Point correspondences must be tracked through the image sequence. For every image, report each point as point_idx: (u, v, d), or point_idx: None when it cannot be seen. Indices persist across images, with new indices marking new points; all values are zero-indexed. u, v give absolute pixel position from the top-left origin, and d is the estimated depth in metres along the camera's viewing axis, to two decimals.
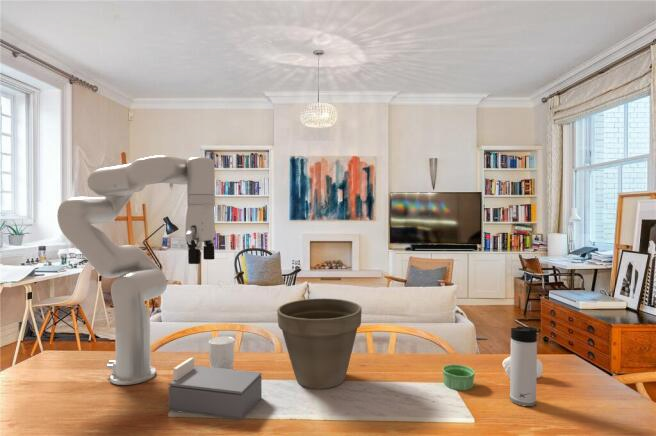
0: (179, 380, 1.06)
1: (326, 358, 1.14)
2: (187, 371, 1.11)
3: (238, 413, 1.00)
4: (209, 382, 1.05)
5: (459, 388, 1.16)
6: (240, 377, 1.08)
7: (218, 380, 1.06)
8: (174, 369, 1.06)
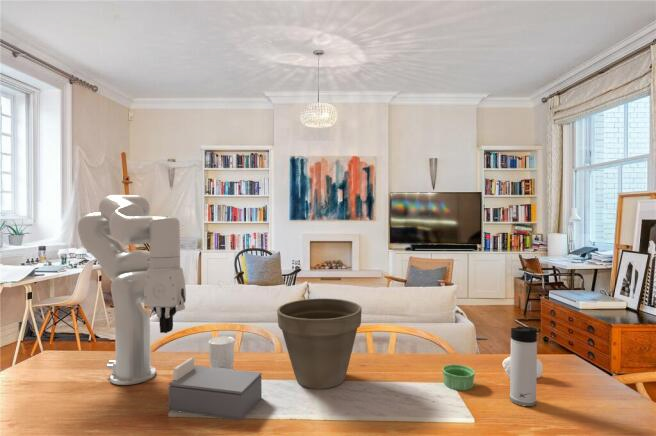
0: (179, 380, 1.06)
1: (326, 358, 1.14)
2: (187, 371, 1.11)
3: (238, 413, 1.00)
4: (209, 382, 1.05)
5: (459, 388, 1.16)
6: (240, 377, 1.08)
7: (218, 380, 1.06)
8: (174, 369, 1.06)
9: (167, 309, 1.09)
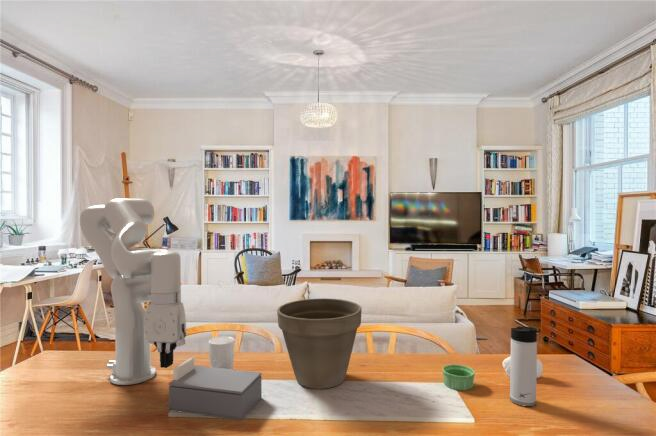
0: (179, 380, 1.06)
1: (326, 358, 1.14)
2: (187, 371, 1.11)
3: (238, 413, 1.00)
4: (209, 382, 1.05)
5: (459, 388, 1.16)
6: (240, 377, 1.08)
7: (218, 380, 1.06)
8: (174, 369, 1.06)
9: (168, 344, 1.10)
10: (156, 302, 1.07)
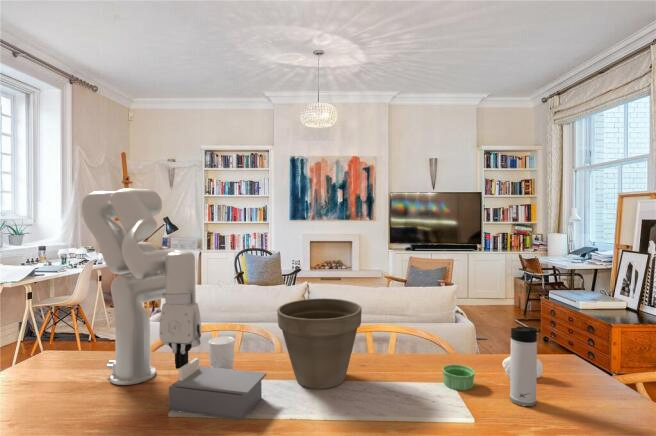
0: (184, 381, 1.06)
1: (326, 358, 1.14)
2: (192, 372, 1.11)
3: (238, 413, 1.00)
4: (214, 383, 1.05)
5: (459, 388, 1.16)
6: (245, 378, 1.08)
7: (223, 381, 1.06)
8: (179, 369, 1.06)
9: (183, 345, 1.08)
10: (171, 302, 1.06)
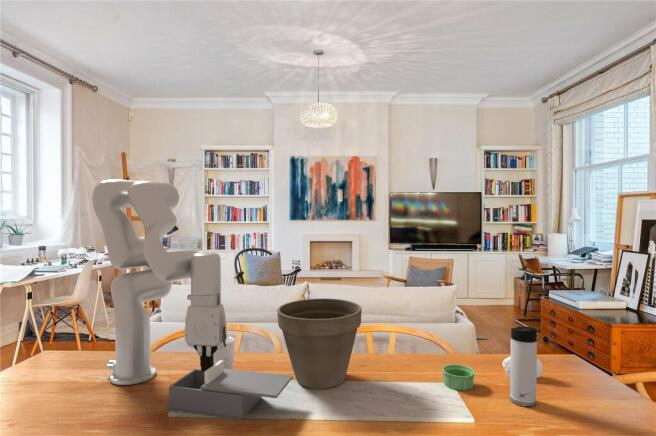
0: (210, 384, 1.04)
1: (326, 358, 1.14)
2: (217, 374, 1.09)
3: (238, 413, 1.00)
4: (242, 386, 1.03)
5: (459, 388, 1.16)
6: (272, 380, 1.06)
7: (250, 384, 1.04)
8: (205, 372, 1.04)
9: (208, 347, 1.07)
10: (197, 304, 1.05)
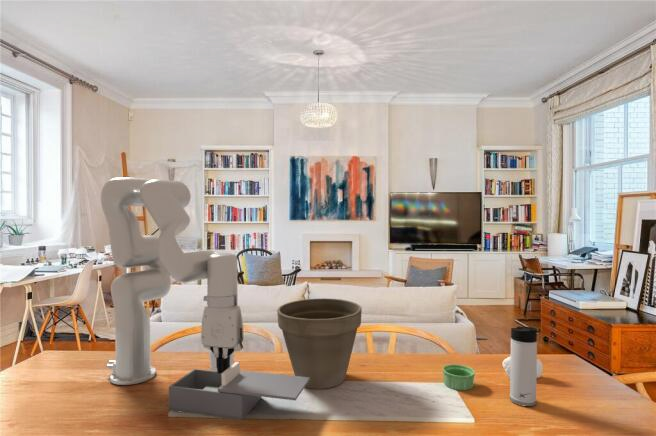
0: (227, 386, 1.03)
1: (326, 358, 1.14)
2: (233, 376, 1.08)
3: (238, 413, 1.00)
4: (259, 388, 1.02)
5: (459, 388, 1.16)
6: (289, 382, 1.05)
7: (268, 386, 1.03)
8: (222, 374, 1.03)
9: (225, 349, 1.06)
10: (214, 306, 1.03)
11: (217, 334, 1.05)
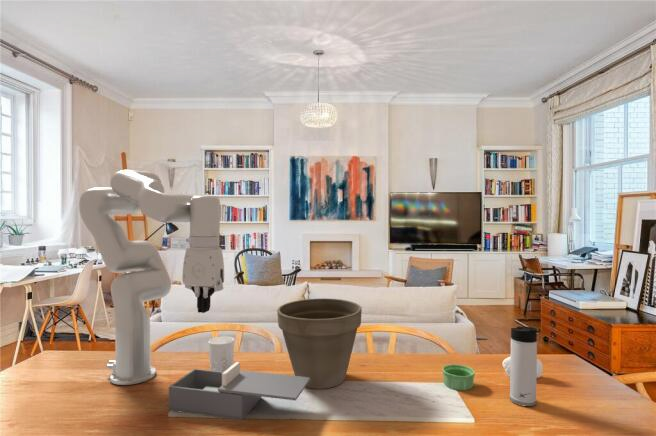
0: (228, 386, 1.03)
1: (326, 358, 1.14)
2: (234, 376, 1.08)
3: (238, 413, 1.00)
4: (260, 388, 1.02)
5: (459, 388, 1.16)
6: (290, 382, 1.05)
7: (268, 386, 1.03)
8: (223, 374, 1.03)
9: (206, 289, 1.08)
10: (196, 245, 1.06)
11: (198, 273, 1.07)
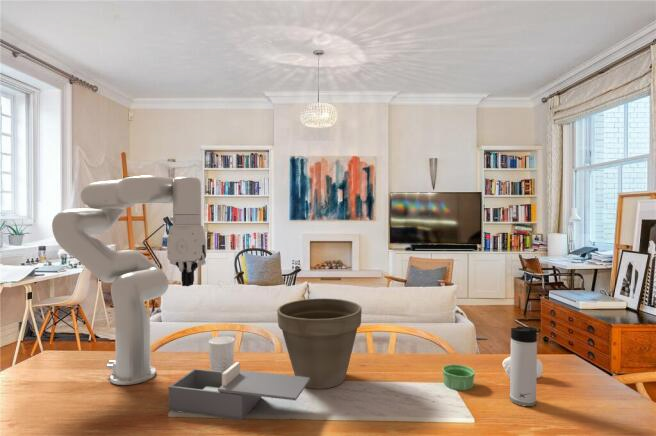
0: (228, 386, 1.03)
1: (326, 358, 1.14)
2: (234, 376, 1.08)
3: (238, 413, 1.00)
4: (260, 388, 1.02)
5: (459, 388, 1.16)
6: (290, 382, 1.05)
7: (268, 386, 1.03)
8: (223, 374, 1.03)
9: (189, 264, 1.16)
10: (178, 222, 1.14)
11: (181, 249, 1.15)
